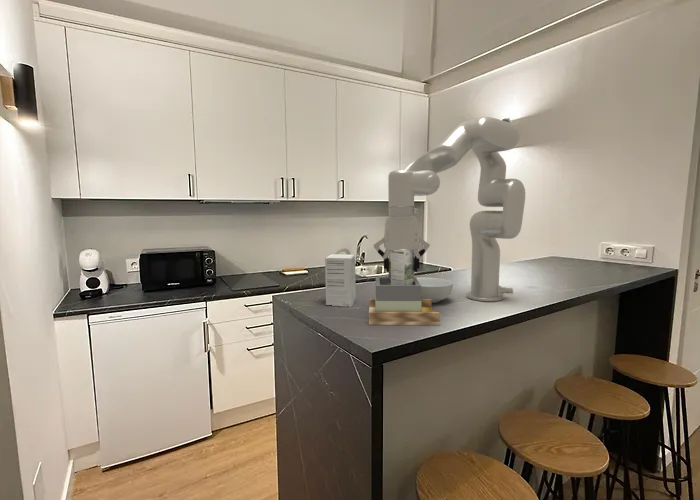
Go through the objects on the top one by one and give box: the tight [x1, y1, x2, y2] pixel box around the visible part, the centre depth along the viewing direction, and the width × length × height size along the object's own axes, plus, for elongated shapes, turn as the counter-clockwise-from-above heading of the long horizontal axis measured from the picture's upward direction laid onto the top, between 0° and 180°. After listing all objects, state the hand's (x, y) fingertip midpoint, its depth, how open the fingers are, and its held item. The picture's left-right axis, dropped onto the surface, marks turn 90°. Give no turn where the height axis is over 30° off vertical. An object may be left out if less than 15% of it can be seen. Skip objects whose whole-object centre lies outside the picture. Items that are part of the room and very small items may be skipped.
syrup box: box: [388, 249, 415, 285], centre depth 110 cm, size 6×6×14 cm
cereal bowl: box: [416, 276, 453, 304], centre depth 130 cm, size 17×17×7 cm
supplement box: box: [324, 253, 357, 308], centre depth 127 cm, size 10×9×17 cm
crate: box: [374, 276, 421, 312], centre depth 110 cm, size 13×13×10 cm
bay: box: [368, 298, 441, 326], centre depth 111 cm, size 20×16×4 cm
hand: (401, 270), depth 110 cm, fingers closed on syrup box, 8 cm apart
